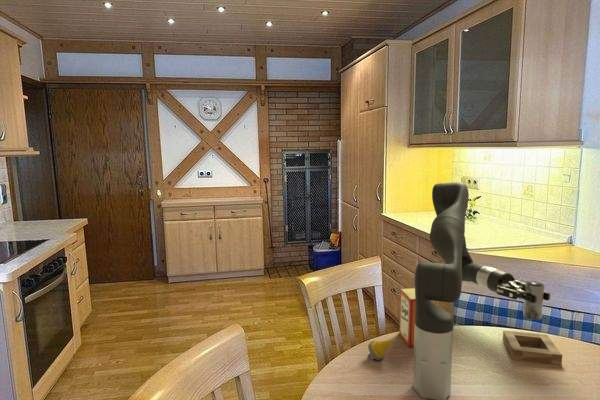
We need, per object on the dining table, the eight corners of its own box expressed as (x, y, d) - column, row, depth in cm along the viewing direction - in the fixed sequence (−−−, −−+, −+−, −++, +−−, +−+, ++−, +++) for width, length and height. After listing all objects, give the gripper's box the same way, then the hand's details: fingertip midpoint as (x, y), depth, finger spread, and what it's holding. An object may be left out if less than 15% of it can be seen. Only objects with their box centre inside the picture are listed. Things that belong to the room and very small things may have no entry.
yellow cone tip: (374, 351, 120) (397, 336, 115) (375, 367, 115) (400, 352, 111) (361, 343, 118) (384, 328, 114) (362, 359, 114) (386, 343, 109)
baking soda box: (399, 333, 131) (400, 287, 129) (418, 332, 131) (419, 286, 129) (409, 347, 121) (410, 298, 119) (429, 346, 122) (431, 297, 120)
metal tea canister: (543, 320, 114) (546, 286, 113) (525, 318, 115) (528, 285, 114) (538, 313, 119) (541, 281, 117) (521, 311, 120) (523, 279, 118)
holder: (561, 365, 111) (562, 355, 110) (512, 359, 114) (513, 349, 113) (546, 344, 123) (547, 335, 122) (502, 339, 126) (503, 330, 125)
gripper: (478, 271, 126) (525, 289, 110) (511, 266, 131) (560, 283, 115) (477, 293, 127) (523, 314, 111) (510, 288, 132) (558, 307, 116)
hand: (542, 298), depth 114 cm, fingers closed on metal tea canister, 4 cm apart
